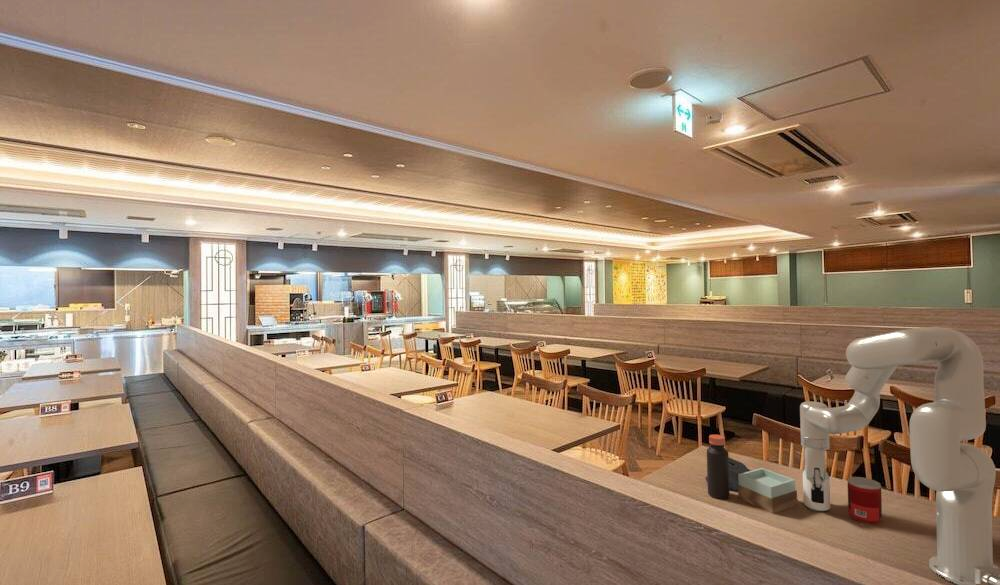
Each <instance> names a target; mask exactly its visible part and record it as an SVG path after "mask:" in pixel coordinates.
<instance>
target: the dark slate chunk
mask: <svg viewBox="0 0 1000 585" xmlns="http://www.w3.org/2000/svg"><path fill="white" fill-rule="evenodd" d="M748 471H752V470H750V469H749V468H748V467H747V466H746V465H745V464H744V463H743V462H741V461H739V460H735V459H733V458H732V457H729V490H730V491H733V492H734V493H735V492H737V493H738V485H739V479H738V474H741V473H745V472H748ZM705 480H706V482H707V483H708V480H707V476H705Z"/></svg>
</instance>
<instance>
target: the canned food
mask: <svg viewBox="0 0 1000 585" xmlns="http://www.w3.org/2000/svg"><path fill="white" fill-rule="evenodd" d="M882 501H883V500H882V484H881V483H880V482H878V481H876V480H875V479H871V478H867V477H863V476H862V477H861V476H851V477H848V478H847V508H848V514H849V516H850V517H851V518H852V519H854V520H856V521H859V522H861V523H864V524H872V525H876V524H880V523H881V522H882V520H883V507H882V504H883V503H882Z"/></svg>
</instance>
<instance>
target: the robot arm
mask: <svg viewBox="0 0 1000 585" xmlns="http://www.w3.org/2000/svg"><path fill="white" fill-rule="evenodd" d="M845 350H846V351H845V357H846V358H845V359H846V361H847V362H848V363H849V364H850V365H851V367H850V368H849V370H848V371H847V373H846V374H845V376H844V379H845V382H846V384H847V385H848V386H849V387H850V388H851V389H852V390H854V393H853V395H852V397H851V398H850V399H849V401H848V402H847V404H846V405H843V406H842V405H841V406H836V407H835V406H834V407H828V405H826V404H825V403H823V402H819V401H810V400H809V401H803V402H801V403H800V405H799V418H800V419H799V421H800V424H799V426H800V445H801V446H802V447H804V451H803V452H804V454H803V455H804V470H805V473H806V478H807V479H808V480H809V479H812V488H811V500H812V502H816V503H822V504H823V503H824V490H823V484H822V481H823V482H824V481H825V470H826V451H827V450H830V435H840V434H846V433H850V432H857V431H860V430H862V429H864V428H866V427H867V426H868V425H869V424H870V422H871V421H872V420H873V418H874V416H875V415H876V414H877V413H878V411H879V408H880V404H881V395H880V392H881V391H882V389H883V388H884V386H886V384H887V382H888V380H889V379H890V377H891V376H892V375H893V374H894V372H895V371H896V369H897V368H898V367H899V366H906V365H914V364H921V363H922V364H924V363H931V362H936V363H937V366H938V367H937V369H936V372H935V376H934V381H933V384H934V400H933V402H927V403H923V404H922V405H920V406H918V407H916V408H915V409H914V410H913V411H912V413H911V416H910V418H909V427H908V428H909V446H910V447H909V448H910V449H909V450H910V463H911V467H912V471H913V472H914V475H915V477H916V478H917V480H918V481H919V482H920V483H921V484H922V485H924V486H925V487H927V488H928V489H930V490H932V491H933V490H934V491H936V492H935V518H936V520H935V521H936V526H935V527H936V555H935V556H931V557H930V558H929V560H928V565H929V568H930V570H932V571H933V572H934V573H935V574H936V573H937V574H938V576H939V575H941V576H942V577H944V578H945V579H944V578H943V579H944V580H946V581H947V582H950V581H951V583H952V582H953V584H954V585H976V584H983V583H986V584H988V585H1000V567H999V566H998V565H995V564H994V558H993V557H994V554H993V553H994V552H993V550H994V549H993V524H992V523H993V521H992V520H993V494H994V487H995V482H996V475H997V472H996V471H997V470H996V465H995V464H994V461H993V459H992V458H991V457H990V455H989V454H988V453H987V451H985V450H983V449H981V448H980V447H977V446H976V445H973V444H969V443H964V442H966V441H970V440H974V439H977V438H979V437H981V436H982V435H983V434H984V433H985V431H986V427H987V422H986V421H987V419H986V402H985V401H986V399H985V386H984V385H985V384H984V358H983V356H982V352H981V350H980V348H979V346H978V345H977V344H976V343H975V342H974V340H972V338H971V337H969V336H967V335H966V334H965V333H962V332H961V331H958V330H955V329H952V328H948V327H944V326H943V327H941V326H930V327H929V326H928V327H920V328H919V327H918V328H908V329H902V330H901V329H900V330H895V331H891V332H886V333H881V334H877V335H873V336H865V337H861V338H857V339H854V340H853V341H851V342H850V343H849V344H848V346H847V347H846V349H845ZM962 442H963V443H962ZM814 471H815V472H814ZM820 476H821V480H820ZM813 477H815V479H813ZM822 478H823V479H822ZM814 481H815V483H814ZM937 574H936V575H937ZM941 576H940V577H941ZM942 577H941V578H942Z"/></svg>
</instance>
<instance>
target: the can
mask: <svg viewBox="0 0 1000 585" xmlns="http://www.w3.org/2000/svg"><path fill="white" fill-rule="evenodd" d="M814 472H815V471H814ZM830 478H831V477H830V476H829V474H828V472H827V470H826V469H825V481H824V482H823V481H822V484H823V490H824V503H823V504H822V503H816V502H812V500H811V488H812V479H809V480H808V479H807V478H806V473H805V469H804V470H803V472H802V491H803V492H802V494H803V495H802V496H803V498H802V499H803V501H802V502H803V505H805V507H807V508H808V509H809V510H812V511H816V512H827V511H829V510H830V509H831V487H830V486H831V483H830V481H831V479H830ZM813 479H815V477H813ZM822 479H823V478H822ZM820 480H821V476H820ZM814 483H815V481H814Z"/></svg>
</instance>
